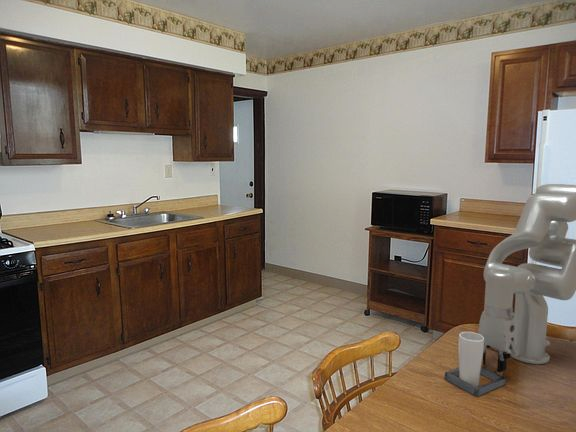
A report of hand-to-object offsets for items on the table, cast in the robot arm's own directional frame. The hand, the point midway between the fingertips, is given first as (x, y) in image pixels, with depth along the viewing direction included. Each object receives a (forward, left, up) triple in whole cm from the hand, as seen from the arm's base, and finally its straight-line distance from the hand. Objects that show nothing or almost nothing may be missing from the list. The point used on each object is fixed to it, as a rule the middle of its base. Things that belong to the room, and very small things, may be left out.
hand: (494, 367), depth 127 cm
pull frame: (+7, 0, -2) cm, 7 cm away
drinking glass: (+12, 0, -2) cm, 12 cm away
